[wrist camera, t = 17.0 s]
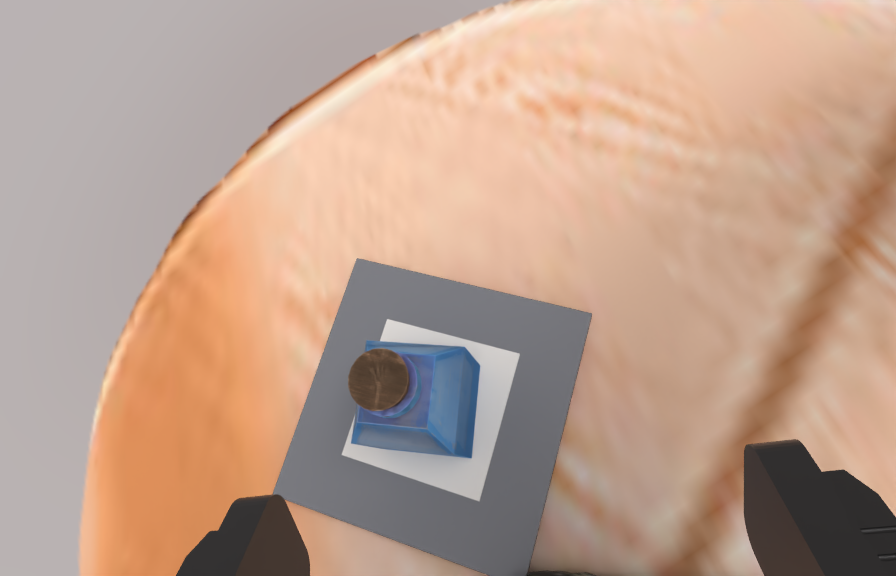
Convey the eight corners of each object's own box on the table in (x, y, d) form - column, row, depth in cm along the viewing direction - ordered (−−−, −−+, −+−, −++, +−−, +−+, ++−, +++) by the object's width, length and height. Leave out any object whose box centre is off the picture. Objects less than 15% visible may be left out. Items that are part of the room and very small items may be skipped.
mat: (591, 317, 42) (592, 312, 41) (524, 585, 38) (522, 588, 37) (361, 262, 47) (356, 257, 46) (279, 494, 43) (271, 494, 41)
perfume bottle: (480, 365, 41) (444, 322, 30) (471, 458, 39) (430, 449, 28) (394, 359, 43) (330, 315, 31) (382, 448, 41) (309, 436, 30)
